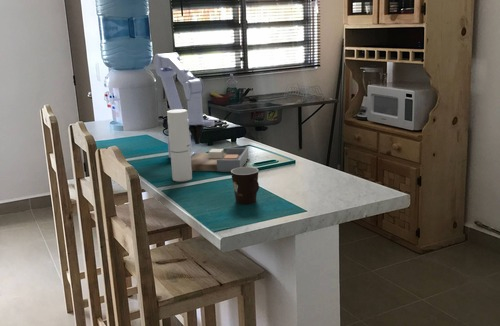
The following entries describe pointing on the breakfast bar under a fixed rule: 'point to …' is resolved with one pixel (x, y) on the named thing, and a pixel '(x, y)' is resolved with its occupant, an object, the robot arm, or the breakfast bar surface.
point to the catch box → (232, 164)
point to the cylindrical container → (179, 144)
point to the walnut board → (204, 162)
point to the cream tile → (216, 153)
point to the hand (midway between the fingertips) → (197, 143)
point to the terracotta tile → (231, 157)
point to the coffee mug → (245, 184)
